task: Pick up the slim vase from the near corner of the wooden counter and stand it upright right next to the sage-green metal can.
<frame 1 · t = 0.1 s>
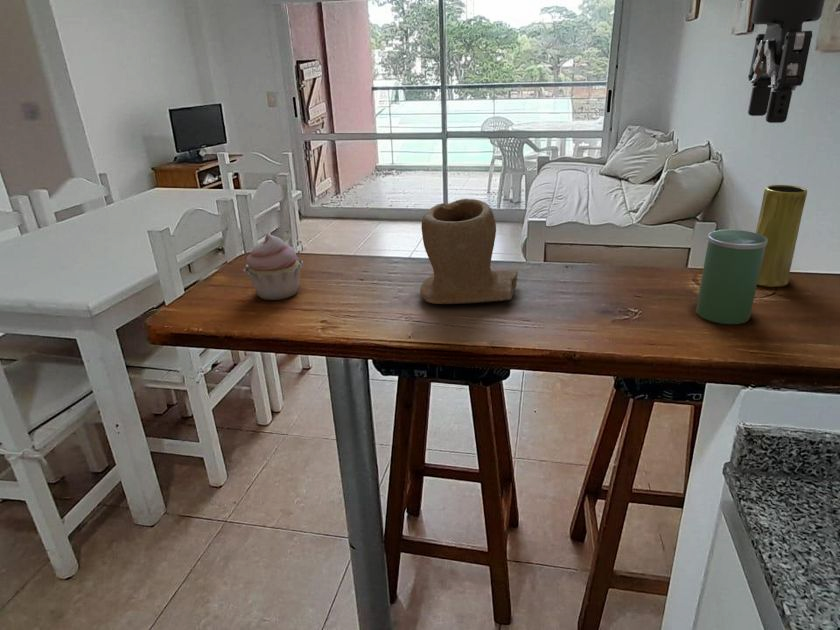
hand: (765, 118, 77), 24 cm above the counter, tool pointing down, fingers open, 8 cm apart
vase: (765, 281, 89), on the counter
cupcake: (278, 294, 92), on the counter
stone cup: (470, 300, 87), on the counter
green can: (722, 314, 79), on the counter
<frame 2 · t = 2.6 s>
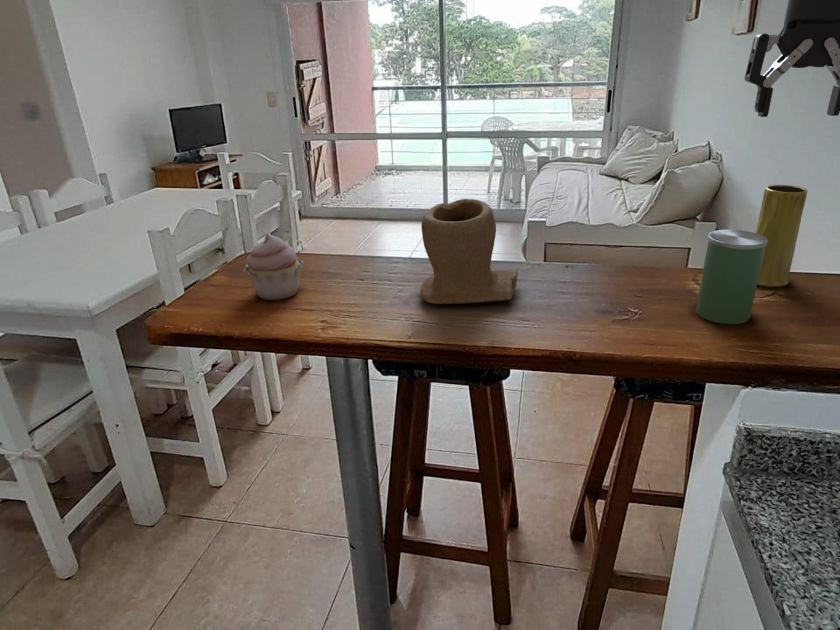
hand: (797, 115, 78), 24 cm above the counter, tool pointing down, fingers open, 8 cm apart
nothing on the counter moved.
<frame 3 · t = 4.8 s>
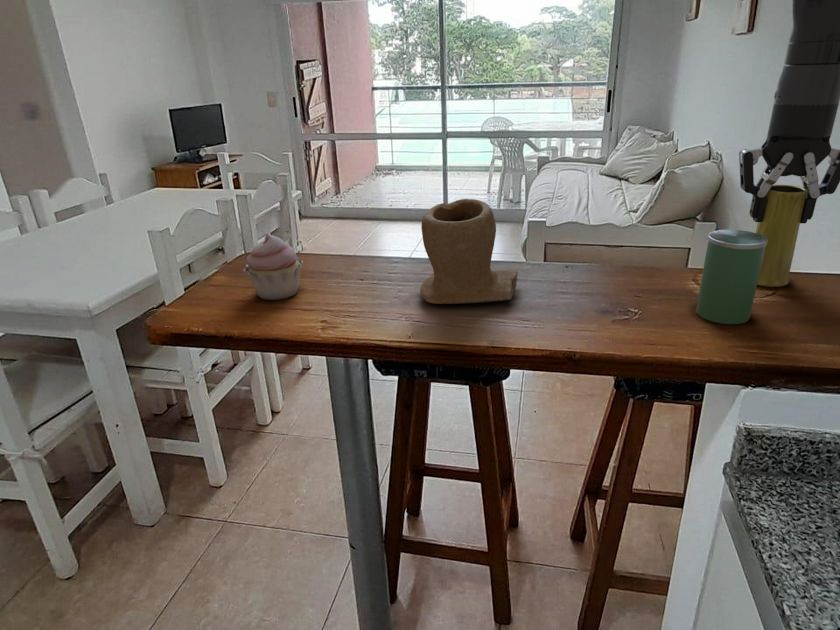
hand: (779, 221, 85), 9 cm above the counter, tool pointing down, fingers closed on vase, 5 cm apart
vase: (765, 281, 89), on the counter, touching gripper
everything else where it was.
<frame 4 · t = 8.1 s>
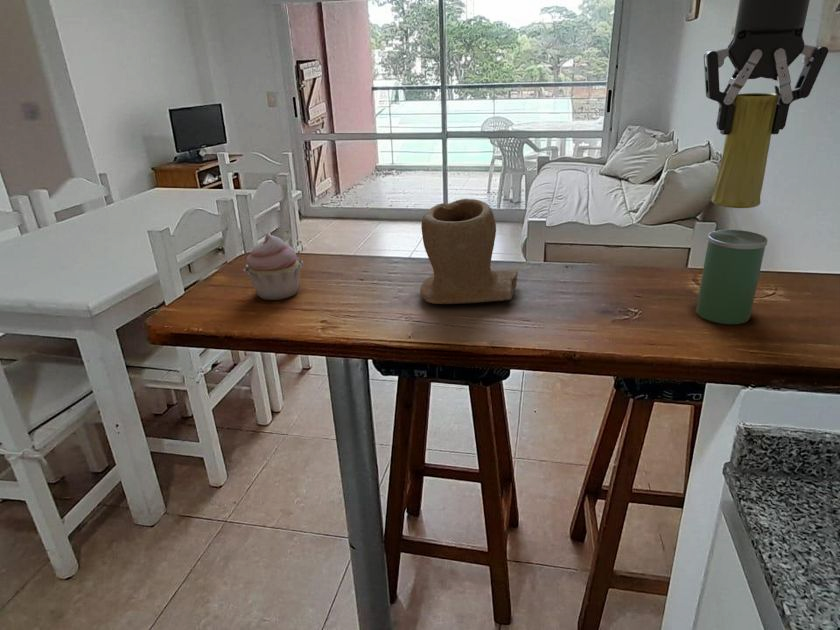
hand: (748, 133, 76), 23 cm above the counter, tool pointing down, fingers closed on vase, 5 cm apart
vase: (735, 204, 80), point 13 cm above the counter, touching gripper
everything else where it was.
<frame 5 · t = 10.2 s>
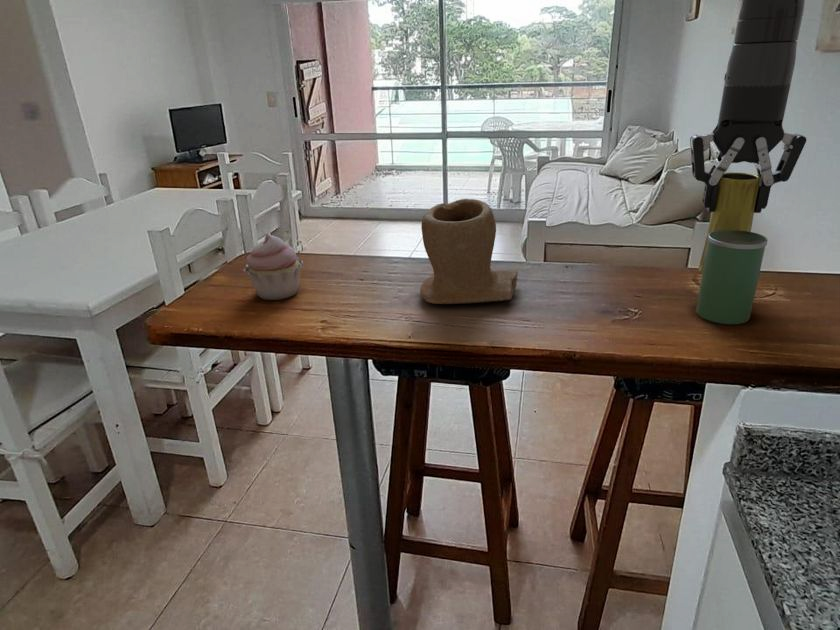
hand: (732, 210, 81), 12 cm above the counter, tool pointing down, fingers closed on vase, 5 cm apart
vase: (720, 274, 85), point 3 cm above the counter, touching gripper
everything else where it was.
when the fingers open (9 cm above the counter, at t = 11.5 s): vase stays where it is, on the counter.
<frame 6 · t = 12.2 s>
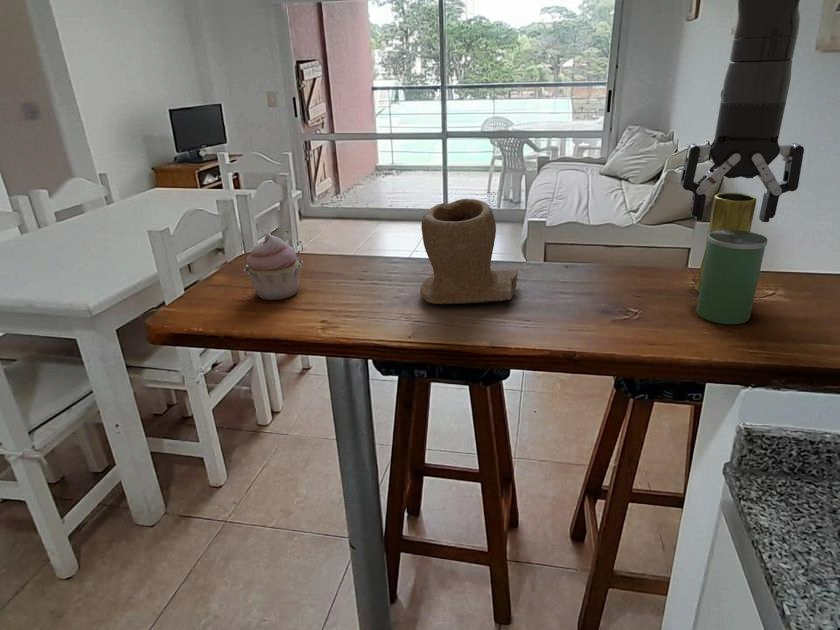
hand: (730, 220, 81), 11 cm above the counter, tool pointing down, fingers open, 8 cm apart
vase: (717, 292, 86), on the counter
everything else where it was.
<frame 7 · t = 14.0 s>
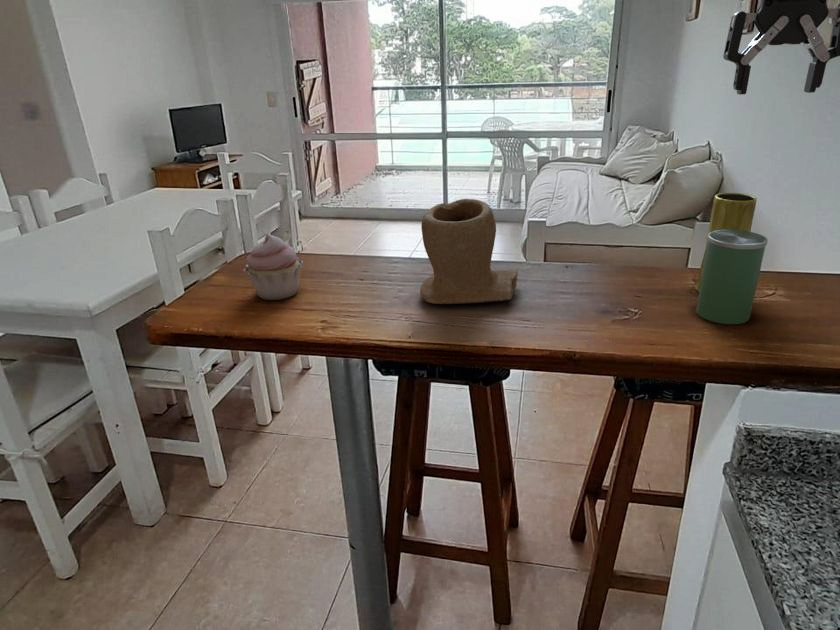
hand: (774, 93, 80), 27 cm above the counter, tool pointing down, fingers open, 8 cm apart
nothing on the counter moved.
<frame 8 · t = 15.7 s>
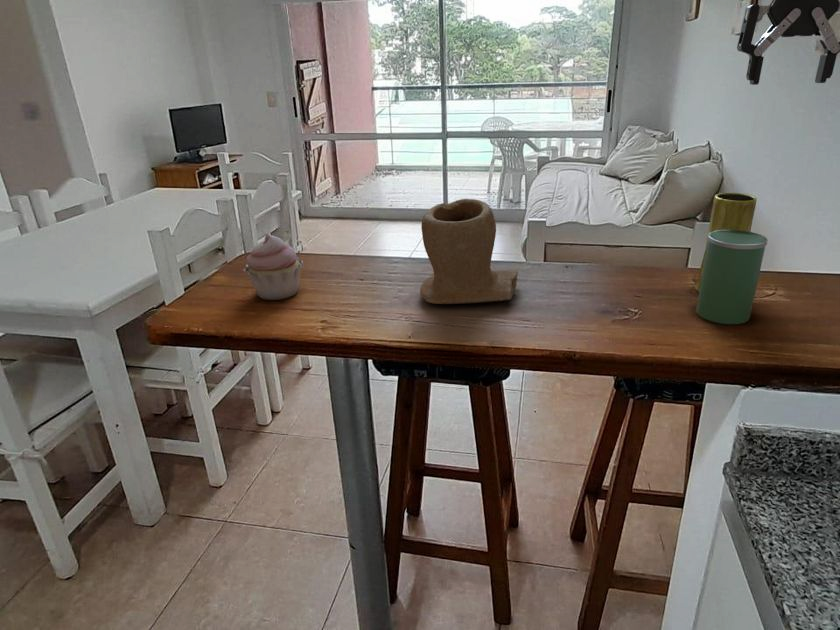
hand: (786, 83, 83), 28 cm above the counter, tool pointing down, fingers open, 8 cm apart
nothing on the counter moved.
at the end: vase 8.5 cm from the green can (horizontally); vase tilted 0°; green can moved 0.0 cm from its start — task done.
